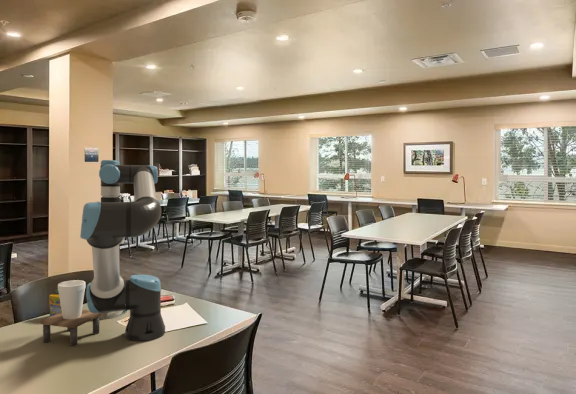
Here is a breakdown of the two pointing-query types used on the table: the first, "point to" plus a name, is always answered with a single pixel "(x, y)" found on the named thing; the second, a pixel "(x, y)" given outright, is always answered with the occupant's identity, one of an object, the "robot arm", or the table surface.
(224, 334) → the table surface
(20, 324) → the table surface
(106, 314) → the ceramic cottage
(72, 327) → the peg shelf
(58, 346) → the table surface
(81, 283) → the foam cup
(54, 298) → the crayon box
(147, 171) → the robot arm
